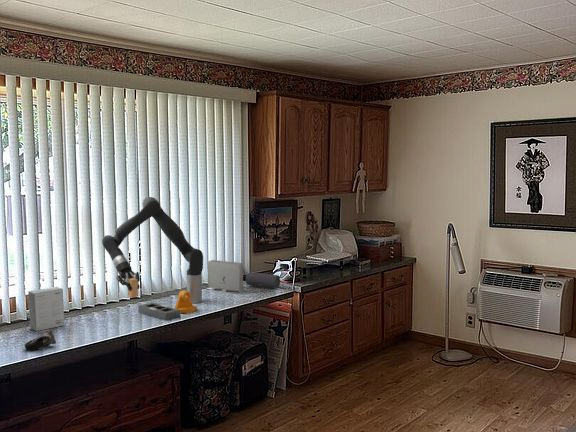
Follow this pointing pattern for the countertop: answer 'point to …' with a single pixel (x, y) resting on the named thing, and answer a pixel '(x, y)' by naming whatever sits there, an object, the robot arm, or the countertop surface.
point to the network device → (225, 276)
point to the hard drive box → (46, 308)
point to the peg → (133, 288)
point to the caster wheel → (41, 341)
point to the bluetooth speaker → (262, 280)
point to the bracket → (185, 302)
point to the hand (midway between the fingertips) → (134, 289)
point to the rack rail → (159, 311)
